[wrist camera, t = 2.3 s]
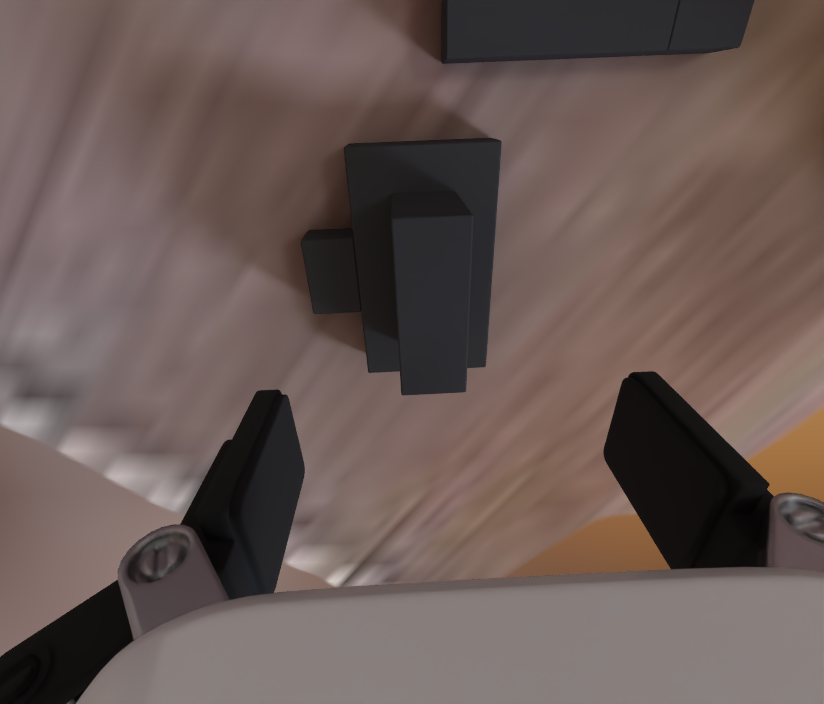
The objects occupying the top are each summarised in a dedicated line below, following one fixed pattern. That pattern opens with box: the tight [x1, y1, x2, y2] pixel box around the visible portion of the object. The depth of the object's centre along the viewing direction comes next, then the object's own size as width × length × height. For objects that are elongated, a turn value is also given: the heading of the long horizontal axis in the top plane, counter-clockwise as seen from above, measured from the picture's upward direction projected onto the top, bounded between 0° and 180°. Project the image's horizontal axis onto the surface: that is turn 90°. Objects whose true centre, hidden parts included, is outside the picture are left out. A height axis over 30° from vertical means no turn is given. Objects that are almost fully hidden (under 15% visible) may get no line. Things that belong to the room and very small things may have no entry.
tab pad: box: [301, 138, 501, 395], centre depth 20 cm, size 12×10×7 cm
